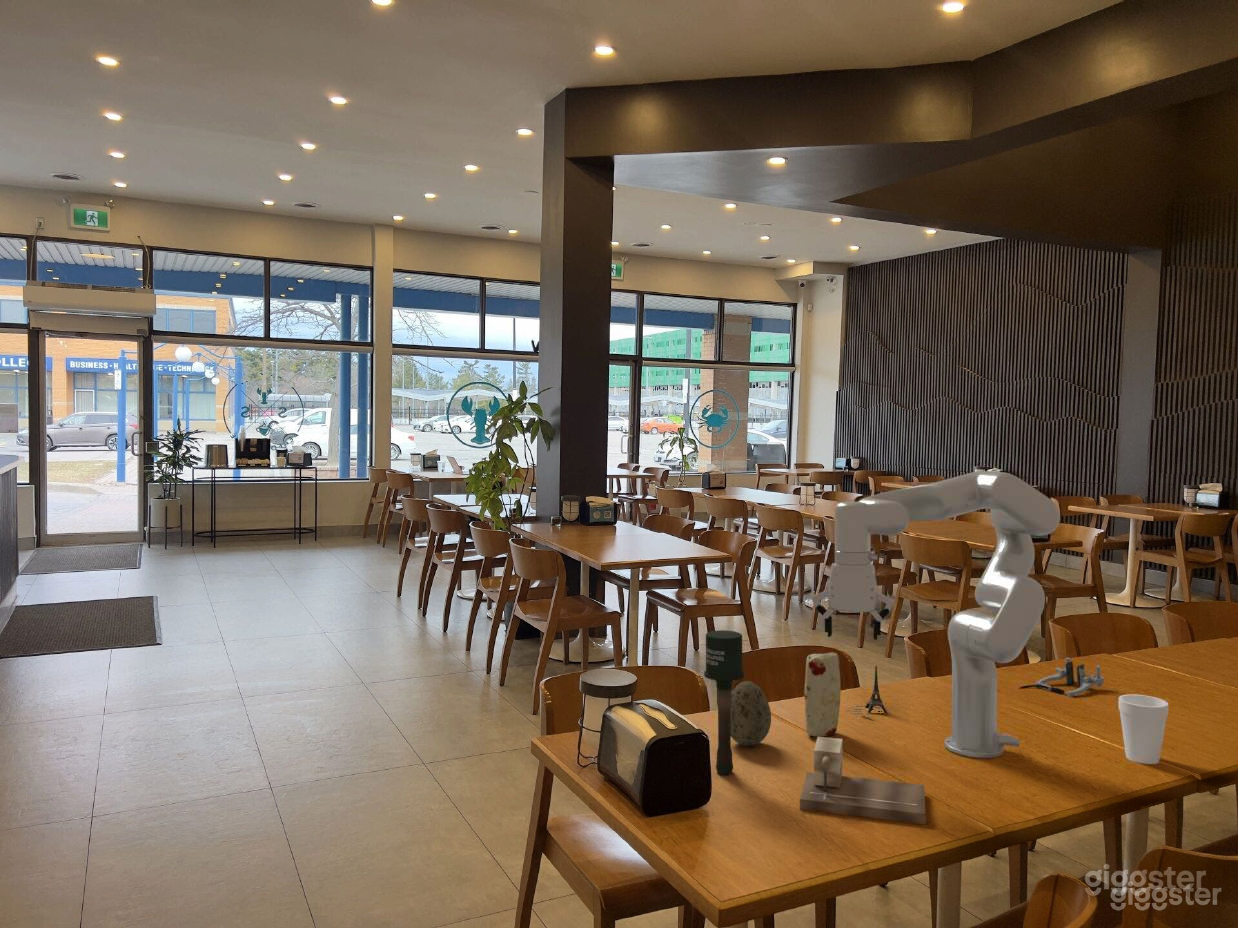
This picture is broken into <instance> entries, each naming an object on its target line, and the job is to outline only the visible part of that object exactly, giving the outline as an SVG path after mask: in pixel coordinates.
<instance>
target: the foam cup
mask: <svg viewBox="0 0 1238 928" xmlns="http://www.w3.org/2000/svg"><path fill="white" fill-rule="evenodd" d="M1118 710H1119V715H1120V722H1121V729H1122V738H1123V743H1124V744H1123V745H1124V751H1125V752H1124V753H1125V758H1126V759H1127V760H1130V761H1131V762H1135V763H1138V764H1144V765H1145V764H1146V765H1157V764H1159V763H1160V758H1161V753H1162V752H1161V751H1162V746H1163V740H1164V734H1165V728H1166V723H1167V717H1168V716H1169V702H1167V701H1166V700H1164V699H1161V698H1158V697H1155V696H1149V695H1146V694H1136V693H1135V694H1123V695H1119V697H1118Z"/></svg>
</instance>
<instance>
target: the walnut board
mask: <svg viewBox="0 0 1238 928" xmlns="http://www.w3.org/2000/svg"><path fill="white" fill-rule="evenodd" d="M925 797H926V795H925V784H921V783H911V782H910V783H909V782H900V781H891V780H884V779H874V778H863V777H855V776H846V775H845V776H844V775H842V777H841V783H840V788H838V787H829V786H827V792H824V786H820V785H814V772H808V771H807V772H806V775H805V779H804V782H803V786H802V790H801V794H800V797H799V810H803V811H812V812H820V813H828V814H836V815H843V816H844V815H845V816H853V817H860V818H868V817H869V818H870V819H876V820H886V821H894V822H901V821H903V822H902V823H910V824H916V825H918V824H919V825H926V824H927V821H926V819H927V816H926V815H927V814H926V798H925ZM869 818H868V819H869Z"/></svg>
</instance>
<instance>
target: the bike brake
mask: <svg viewBox="0 0 1238 928" xmlns="http://www.w3.org/2000/svg"><path fill="white" fill-rule="evenodd" d="M1064 665H1065V667H1064V668H1063V667H1055V671H1056V672H1058V673H1054V674H1052V675H1049V676H1045V677H1042V678H1040V679H1039V680H1037V681H1035V684H1028V685H1024V686H1020V687H1019V689H1022V690H1023V689H1027V688H1039V689H1043V690H1046V691H1047V692H1050V691H1051V692H1054V693H1058V694H1062V695H1064V694H1067V696H1068V697H1070V698H1073V697H1075V696H1076V697H1077V696H1078V695H1081V694H1082V693H1085V692H1086V691H1087V690H1089V689H1090V688H1092V687H1094V686H1095V685H1096V686H1097V687H1102V686H1103V683H1105V677H1104V676H1102V675H1101V666H1100V665H1095V671H1096V674H1094V673H1091V674H1090V675H1088V674H1086V670H1085V664H1084V663H1082V664H1081V665H1078V666H1076V683H1077V689H1073V690H1068V691H1065V690H1064V689H1061V688H1058V687H1052V686H1051V685H1049V684H1046V683H1049V682H1054V681H1061V680H1062V679H1065V678H1066V686H1072V685H1074V684H1075V675H1074V664H1073V661H1072V660H1071V661H1070V657H1065V664H1064Z"/></svg>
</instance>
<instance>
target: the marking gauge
mask: <svg viewBox="0 0 1238 928" xmlns="http://www.w3.org/2000/svg"><path fill="white" fill-rule="evenodd" d="M813 773H814V785H820V786H824V792H827V786H829V787H838V788H840V783H841V777H842V776H843V738H835V737H828V736H827V737H826V736H818V737H816V742H815V745H814V750H813Z"/></svg>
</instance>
